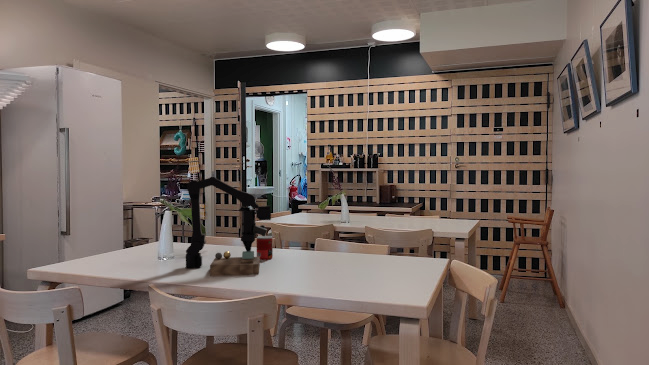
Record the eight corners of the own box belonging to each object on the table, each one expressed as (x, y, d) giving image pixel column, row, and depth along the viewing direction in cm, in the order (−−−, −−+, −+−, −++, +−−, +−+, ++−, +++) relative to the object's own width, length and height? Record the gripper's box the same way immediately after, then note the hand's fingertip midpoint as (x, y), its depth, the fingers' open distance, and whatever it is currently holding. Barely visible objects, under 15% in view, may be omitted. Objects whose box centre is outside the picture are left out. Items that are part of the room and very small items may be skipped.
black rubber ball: (214, 260, 205) (214, 253, 205) (215, 258, 208) (215, 252, 208) (221, 259, 206) (221, 253, 206) (222, 258, 209) (222, 251, 209)
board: (210, 275, 193) (210, 265, 193) (215, 267, 211) (215, 257, 211) (258, 274, 195) (258, 264, 195) (259, 266, 213) (259, 256, 213)
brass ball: (223, 259, 207) (222, 252, 207) (223, 258, 210) (223, 250, 210) (230, 259, 208) (230, 251, 208) (230, 257, 211) (230, 250, 211)
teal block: (242, 258, 206) (242, 253, 206) (242, 256, 211) (242, 251, 211) (253, 258, 207) (253, 252, 207) (254, 256, 212) (254, 251, 212)
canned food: (271, 259, 229) (271, 237, 229) (255, 260, 230) (255, 237, 229) (273, 257, 237) (273, 235, 237) (257, 257, 237) (257, 235, 237)
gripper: (265, 222, 208) (266, 257, 208) (266, 218, 226) (266, 250, 227) (240, 222, 207) (240, 257, 207) (243, 218, 225) (243, 250, 225)
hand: (248, 254), depth 216 cm, fingers closed
